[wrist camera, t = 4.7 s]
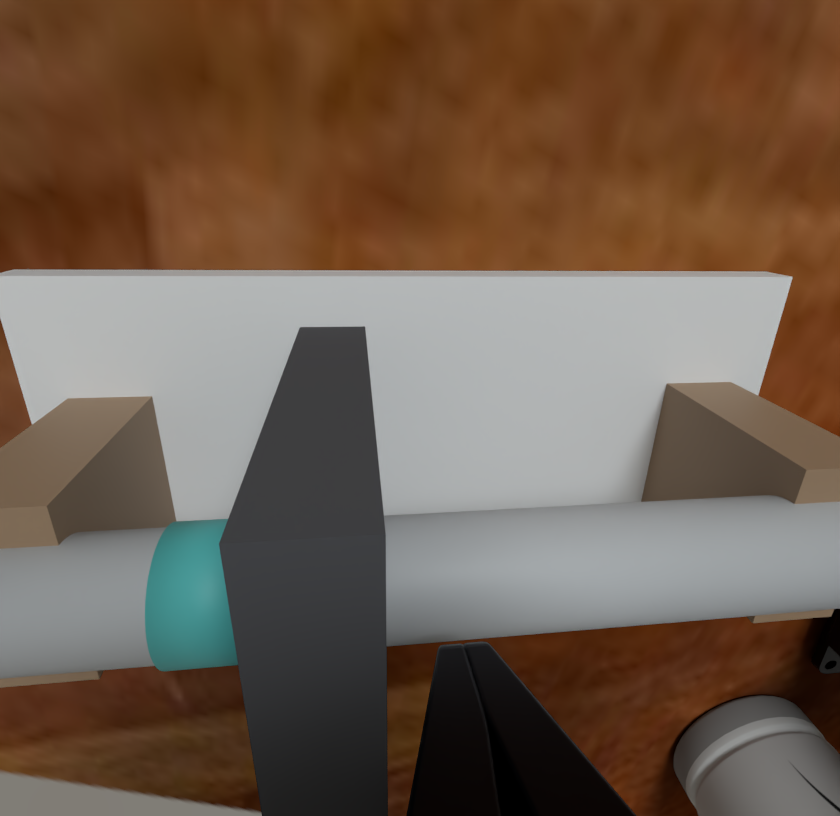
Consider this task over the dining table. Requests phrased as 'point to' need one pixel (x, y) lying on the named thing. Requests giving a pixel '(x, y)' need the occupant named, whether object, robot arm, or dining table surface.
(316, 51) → the dining table surface
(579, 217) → the dining table surface
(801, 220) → the dining table surface
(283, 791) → the dark grey flat block
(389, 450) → the pipe stand
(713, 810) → the travel mug
